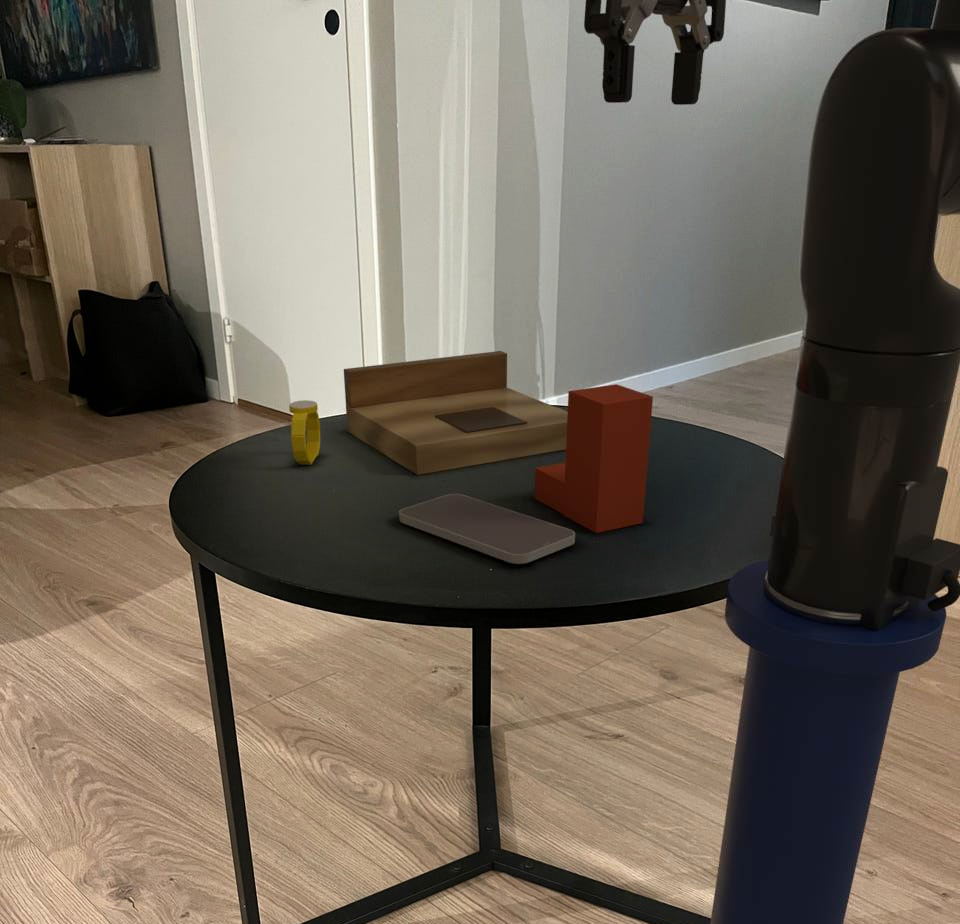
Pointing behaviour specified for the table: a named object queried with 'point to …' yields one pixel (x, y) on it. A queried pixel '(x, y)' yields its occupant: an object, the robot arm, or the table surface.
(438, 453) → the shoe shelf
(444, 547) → the table surface
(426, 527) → the smartphone
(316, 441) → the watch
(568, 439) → the boot
